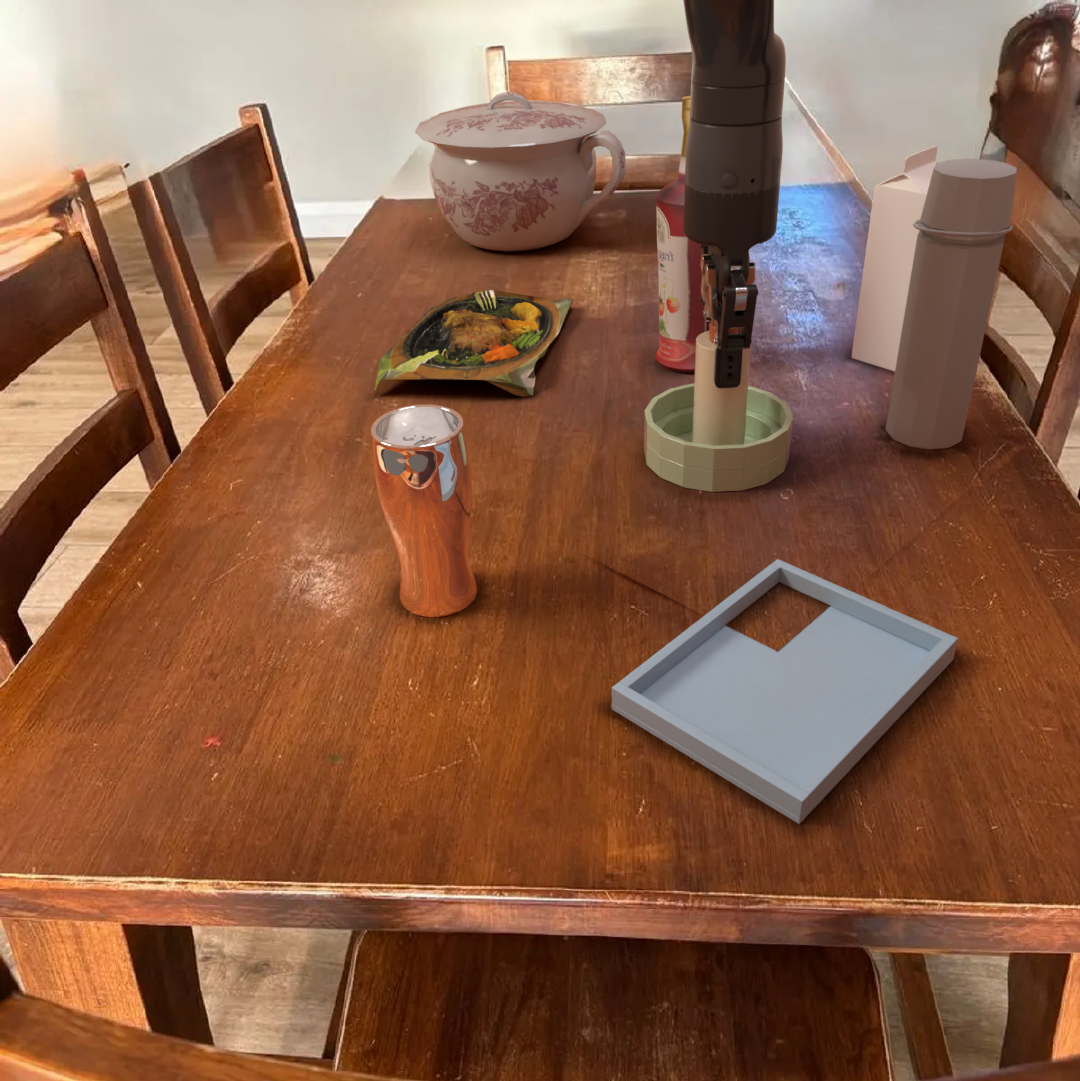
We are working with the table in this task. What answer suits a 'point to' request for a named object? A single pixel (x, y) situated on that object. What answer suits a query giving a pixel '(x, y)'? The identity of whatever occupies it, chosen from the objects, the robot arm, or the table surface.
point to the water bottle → (949, 300)
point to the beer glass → (427, 504)
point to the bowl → (722, 463)
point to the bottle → (718, 397)
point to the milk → (890, 260)
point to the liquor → (678, 273)
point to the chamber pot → (518, 170)
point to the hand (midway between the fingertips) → (721, 372)
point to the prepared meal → (478, 340)
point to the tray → (785, 690)
